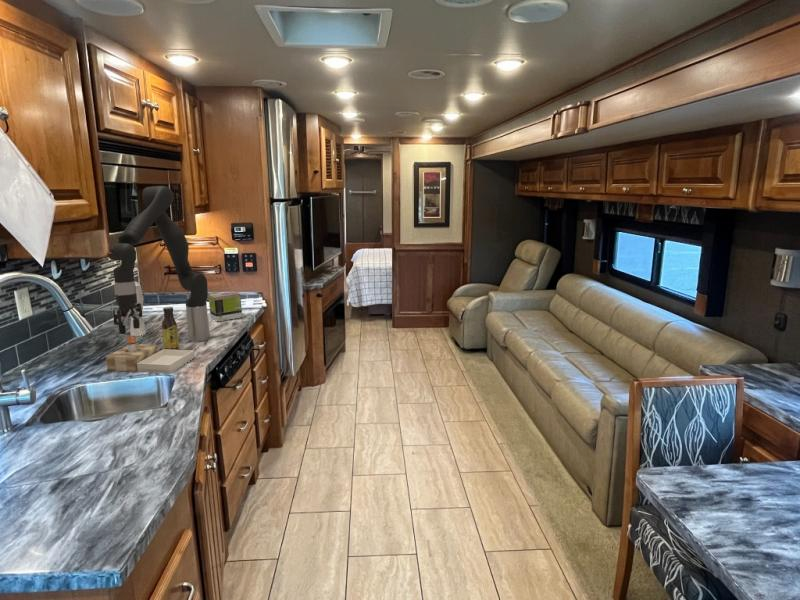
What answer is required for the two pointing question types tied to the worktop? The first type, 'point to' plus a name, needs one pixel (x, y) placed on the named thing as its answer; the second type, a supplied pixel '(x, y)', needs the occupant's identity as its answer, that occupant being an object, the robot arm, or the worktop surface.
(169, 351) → the tray
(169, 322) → the sauce bottle
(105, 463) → the worktop surface
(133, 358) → the block
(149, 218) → the robot arm
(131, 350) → the copper and grey cylinder
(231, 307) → the tea box
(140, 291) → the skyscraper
